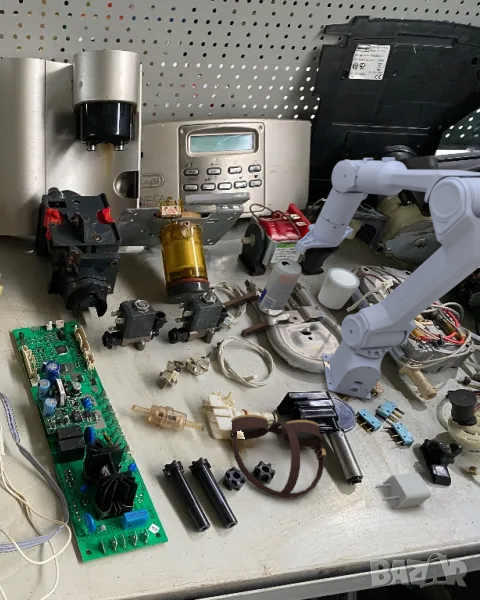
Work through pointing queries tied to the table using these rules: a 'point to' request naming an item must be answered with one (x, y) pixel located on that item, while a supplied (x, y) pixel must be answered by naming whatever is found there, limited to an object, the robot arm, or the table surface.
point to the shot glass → (337, 288)
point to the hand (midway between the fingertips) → (308, 269)
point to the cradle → (245, 299)
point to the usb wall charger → (405, 490)
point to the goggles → (292, 433)
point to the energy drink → (280, 284)
